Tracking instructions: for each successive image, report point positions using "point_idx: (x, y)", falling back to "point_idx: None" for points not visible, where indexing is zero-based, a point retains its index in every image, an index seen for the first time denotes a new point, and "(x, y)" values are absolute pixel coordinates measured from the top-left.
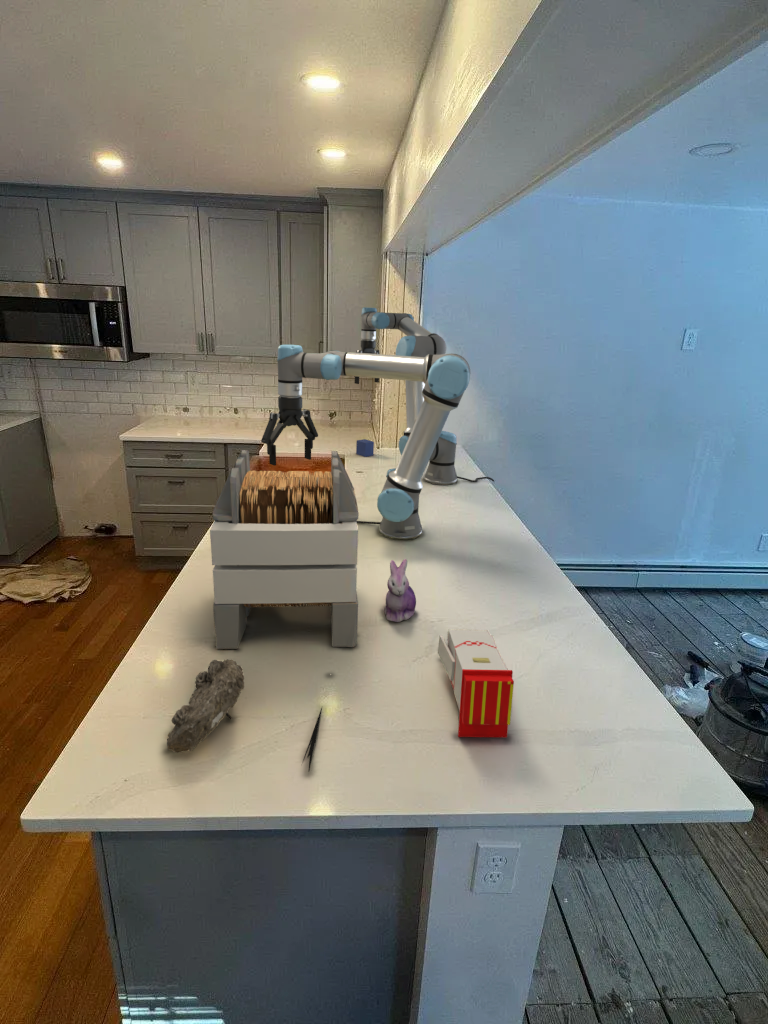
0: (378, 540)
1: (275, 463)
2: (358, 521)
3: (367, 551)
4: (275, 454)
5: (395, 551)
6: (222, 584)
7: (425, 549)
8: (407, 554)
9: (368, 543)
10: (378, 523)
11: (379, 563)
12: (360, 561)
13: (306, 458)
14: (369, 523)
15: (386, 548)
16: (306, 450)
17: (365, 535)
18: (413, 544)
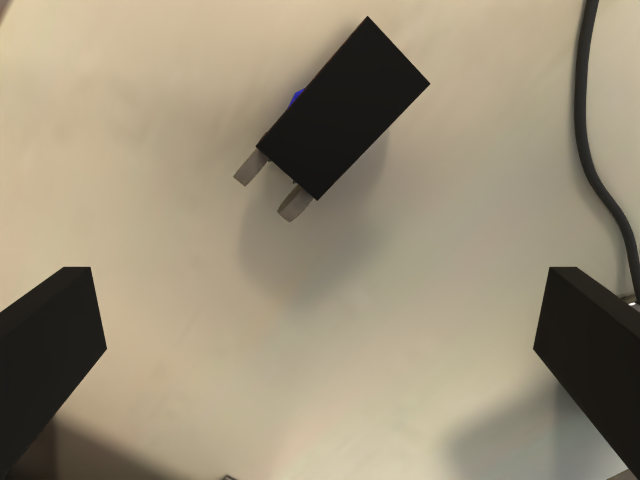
0: (526, 362)
1: (88, 362)
2: (615, 213)
3: (434, 399)
4: (25, 440)
5: (495, 439)
6: None
7: (569, 473)
8: (503, 467)
9: (483, 361)
10: (636, 293)
11: (400, 464)
12: (369, 431)
13: (543, 303)
14: (627, 253)
15: (494, 414)
16: (603, 360)
17: (530, 310)
18: (577, 436)
